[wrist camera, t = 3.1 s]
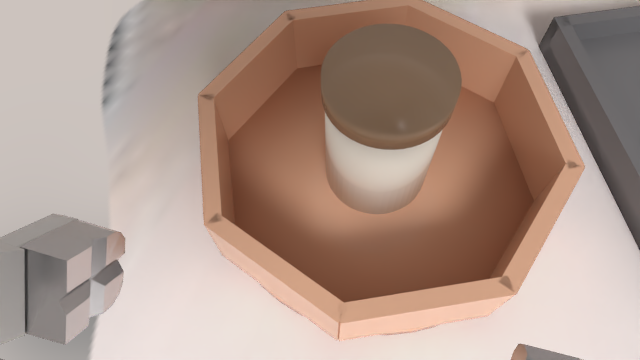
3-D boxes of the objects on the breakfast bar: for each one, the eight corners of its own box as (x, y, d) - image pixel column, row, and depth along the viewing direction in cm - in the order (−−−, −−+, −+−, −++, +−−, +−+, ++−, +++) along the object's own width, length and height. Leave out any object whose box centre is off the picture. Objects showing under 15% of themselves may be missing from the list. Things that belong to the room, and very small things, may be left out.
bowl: (474, 45, 32) (497, -17, 28) (581, 304, 24) (636, 274, 20) (213, 80, 32) (194, 22, 27) (232, 362, 23) (209, 345, 19)
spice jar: (412, 120, 29) (439, 16, 21) (439, 207, 26) (480, 121, 19) (315, 133, 28) (310, 32, 21) (332, 224, 26) (333, 143, 18)
